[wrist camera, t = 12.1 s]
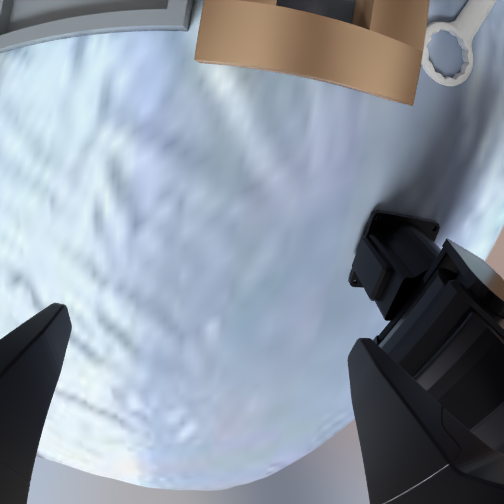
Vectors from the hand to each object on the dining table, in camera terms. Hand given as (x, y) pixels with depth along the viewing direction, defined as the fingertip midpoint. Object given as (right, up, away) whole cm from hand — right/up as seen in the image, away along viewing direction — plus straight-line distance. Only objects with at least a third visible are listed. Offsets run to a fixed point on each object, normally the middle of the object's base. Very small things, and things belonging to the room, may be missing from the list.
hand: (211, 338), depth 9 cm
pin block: (+5, +18, +4) cm, 19 cm away
